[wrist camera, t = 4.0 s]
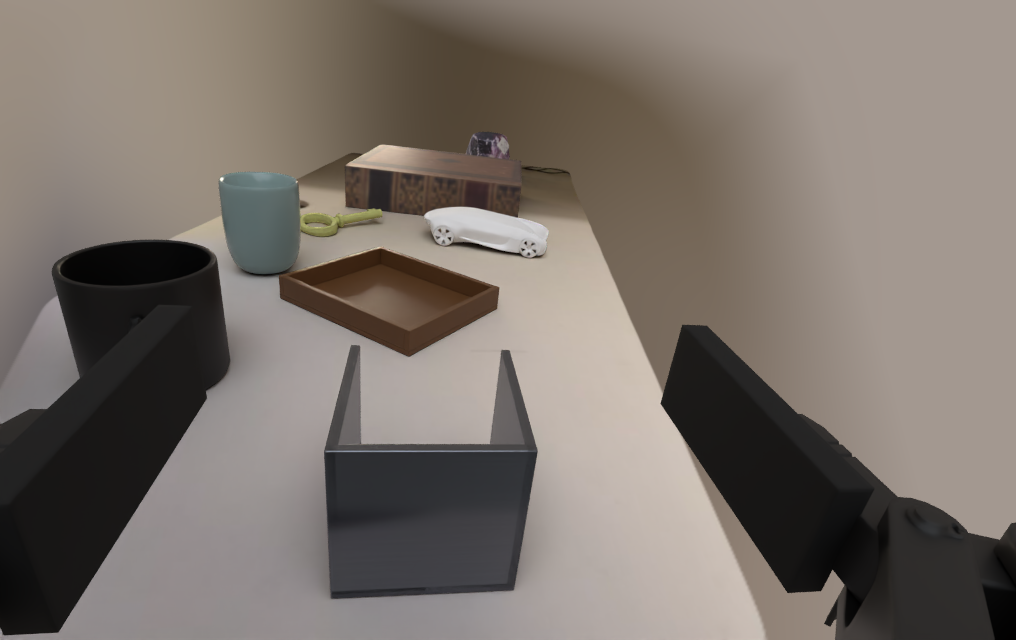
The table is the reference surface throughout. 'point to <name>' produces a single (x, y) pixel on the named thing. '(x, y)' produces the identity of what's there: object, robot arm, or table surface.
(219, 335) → the mug
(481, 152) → the mineral specimen
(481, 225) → the toy car
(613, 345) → the table surface
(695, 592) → the table surface
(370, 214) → the key
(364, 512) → the grey open-sided box
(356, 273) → the tray
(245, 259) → the cup
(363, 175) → the book
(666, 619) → the table surface
